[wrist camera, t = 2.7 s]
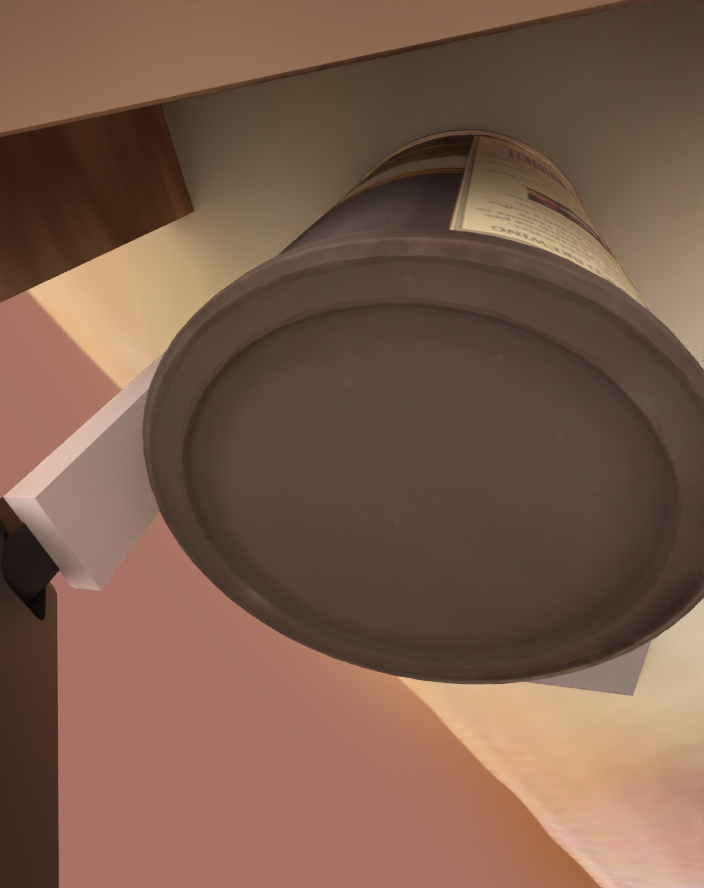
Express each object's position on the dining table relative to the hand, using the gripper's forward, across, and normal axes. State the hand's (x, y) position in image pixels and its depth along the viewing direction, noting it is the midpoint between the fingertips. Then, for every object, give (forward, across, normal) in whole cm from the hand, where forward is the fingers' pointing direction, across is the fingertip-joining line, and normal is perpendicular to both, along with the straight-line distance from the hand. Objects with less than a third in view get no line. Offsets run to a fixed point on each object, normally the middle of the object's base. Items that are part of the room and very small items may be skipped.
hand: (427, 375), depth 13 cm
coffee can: (+9, 0, 0) cm, 9 cm away
